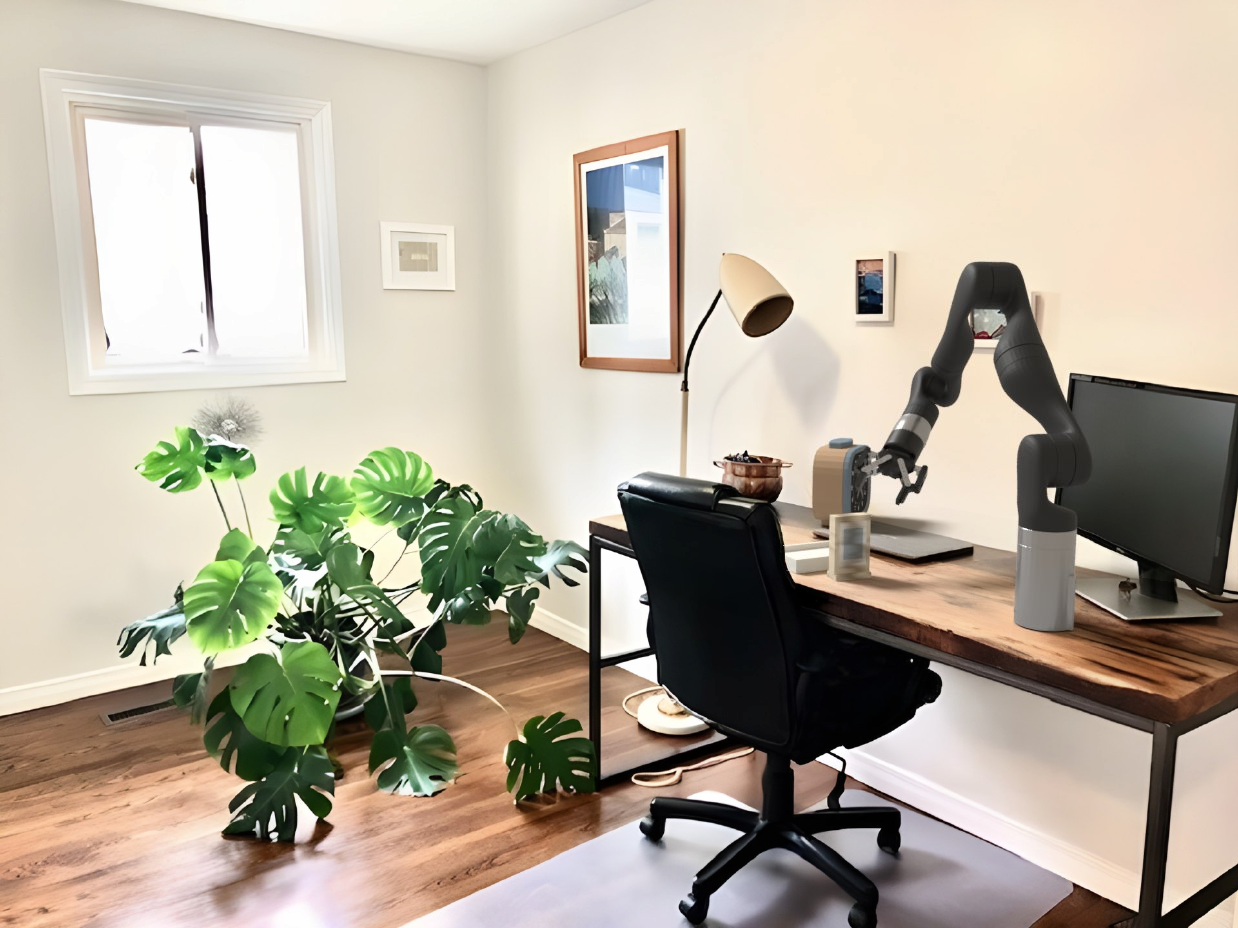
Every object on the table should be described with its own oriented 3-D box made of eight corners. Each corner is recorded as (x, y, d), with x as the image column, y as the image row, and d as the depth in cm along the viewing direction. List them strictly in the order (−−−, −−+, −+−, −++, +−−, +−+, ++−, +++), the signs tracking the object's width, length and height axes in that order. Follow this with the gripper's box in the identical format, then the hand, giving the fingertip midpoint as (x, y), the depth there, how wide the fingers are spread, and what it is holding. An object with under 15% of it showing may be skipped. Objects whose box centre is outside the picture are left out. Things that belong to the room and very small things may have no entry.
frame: (861, 572, 201) (862, 511, 199) (871, 577, 198) (872, 515, 196) (826, 576, 199) (827, 514, 197) (835, 581, 196) (837, 517, 194)
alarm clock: (848, 531, 240) (850, 446, 237) (811, 528, 245) (813, 444, 241) (870, 516, 258) (872, 436, 254) (836, 513, 262) (837, 435, 259)
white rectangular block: (831, 558, 214) (831, 540, 213) (852, 566, 206) (852, 547, 206) (776, 565, 209) (776, 546, 208) (796, 573, 201) (796, 554, 201)
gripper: (875, 418, 206) (844, 474, 198) (941, 438, 199) (911, 496, 192) (875, 440, 211) (845, 495, 204) (939, 460, 205) (910, 517, 198)
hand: (877, 495), depth 198 cm, fingers open, 8 cm apart
